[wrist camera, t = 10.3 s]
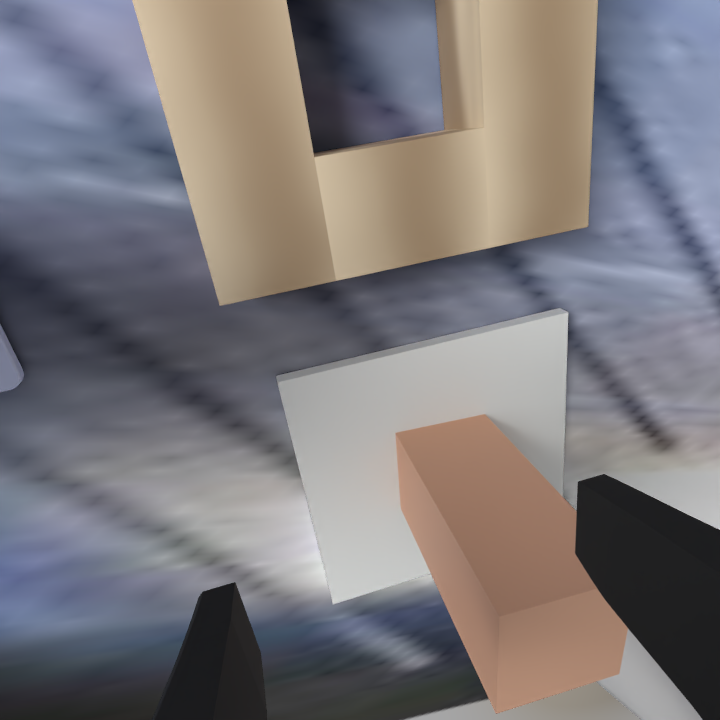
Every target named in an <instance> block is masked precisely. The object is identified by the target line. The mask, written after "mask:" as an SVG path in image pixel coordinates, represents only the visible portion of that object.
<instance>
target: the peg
mask: <svg viewBox="0 0 720 720" xmlns="http://www.w3.org/2000/svg"><path fill="white" fill-rule="evenodd" d="M395 435H396V449H397V463H398V477H399V491H400V505H401V510H402V512H403V514H404V517H405V519H406V521H407V523H408V525H409V527H410V530H411V532H412V534H413V536H414V538H415V540H416V542H417V545H418V547H419V549H420V551H421V553H422V555H423V558H424V560H425V562H426V564H427V566H428V568H429V570H430V573H431V575H432V577H433V579H434V581H435V583H436V586H437V588H438V590H439V592H440V594H441V596H442V598H443V601H444V603H445V605H446V607H447V609H448V611H449V614H450V616H451V618H452V620H453V622H454V624H455V626H456V629H457V631H458V633H459V635H460V637H461V639H462V642H463V644H464V646H465V648H466V650H467V652H468V655H469V657H470V659H471V661H472V663H473V665H474V667H475V670H476V672H477V674H478V676H479V678H480V680H481V683H482V685H483V687H484V689H485V691H486V693H487V695H488V698H489V700H490V702H491V704H492V706H493V708H494V710H495V712H496V714H497V713H500V712H503V711H506V710H509V709H513V708H516V707H519V706H522V705H525V704H528V703H531V702H534V701H537V700H540V699H544V698H547V697H550V696H553V695H556V694H559V693H562V692H565V691H568V690H572V689H575V688H578V687H581V686H584V685H587V684H590V683H593V682H596V681H599V680H602V679H606V678H609V677H612V676H615V675H618V674H619V673H620V668H621V662H622V657H623V652H624V647H625V642H626V637H627V631H628V628H627V626H626V625H625V624H624V623H623V621H622V620H621V619H620V618H619V617H618V615H617V614H616V613H615V612H614V610H613V609H612V608H611V607H610V605H609V604H608V603H607V602H606V600H605V599H604V598H603V596H602V595H601V593H600V592H599V590H598V589H597V587H596V586H595V584H594V583H593V581H592V580H591V578H590V577H589V575H588V573H587V572H586V570H585V569H584V567H583V566H582V564H581V562H580V561H579V559H578V558H577V556H576V554H575V541H576V517H577V512H576V510H575V509H574V508H573V507H572V506H571V505H570V504H569V503H568V502H567V501H566V500H565V499H564V498H563V497H562V496H561V495H560V493H559V492H558V491H557V490H556V489H555V488H554V487H553V486H552V485H551V484H550V483H549V482H548V481H547V480H546V479H545V477H544V476H543V475H542V474H541V473H540V472H539V471H538V470H537V469H536V468H535V467H534V466H533V465H532V464H531V463H530V461H529V460H528V459H527V458H526V457H525V456H524V455H523V454H522V453H521V452H520V451H519V450H518V449H517V448H516V447H515V446H514V444H513V443H512V442H511V441H510V440H509V439H508V438H507V437H506V436H505V435H504V434H503V433H502V432H501V431H500V430H499V428H498V427H497V426H496V425H495V424H494V423H493V422H492V421H491V420H490V419H489V418H488V417H487V416H486V415H485V414H483V415H478V416H473V417H469V418H464V419H459V420H454V421H449V422H445V423H440V424H435V425H430V426H426V427H421V428H416V429H411V430H406V431H402V432H397V433H395Z"/></svg>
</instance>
